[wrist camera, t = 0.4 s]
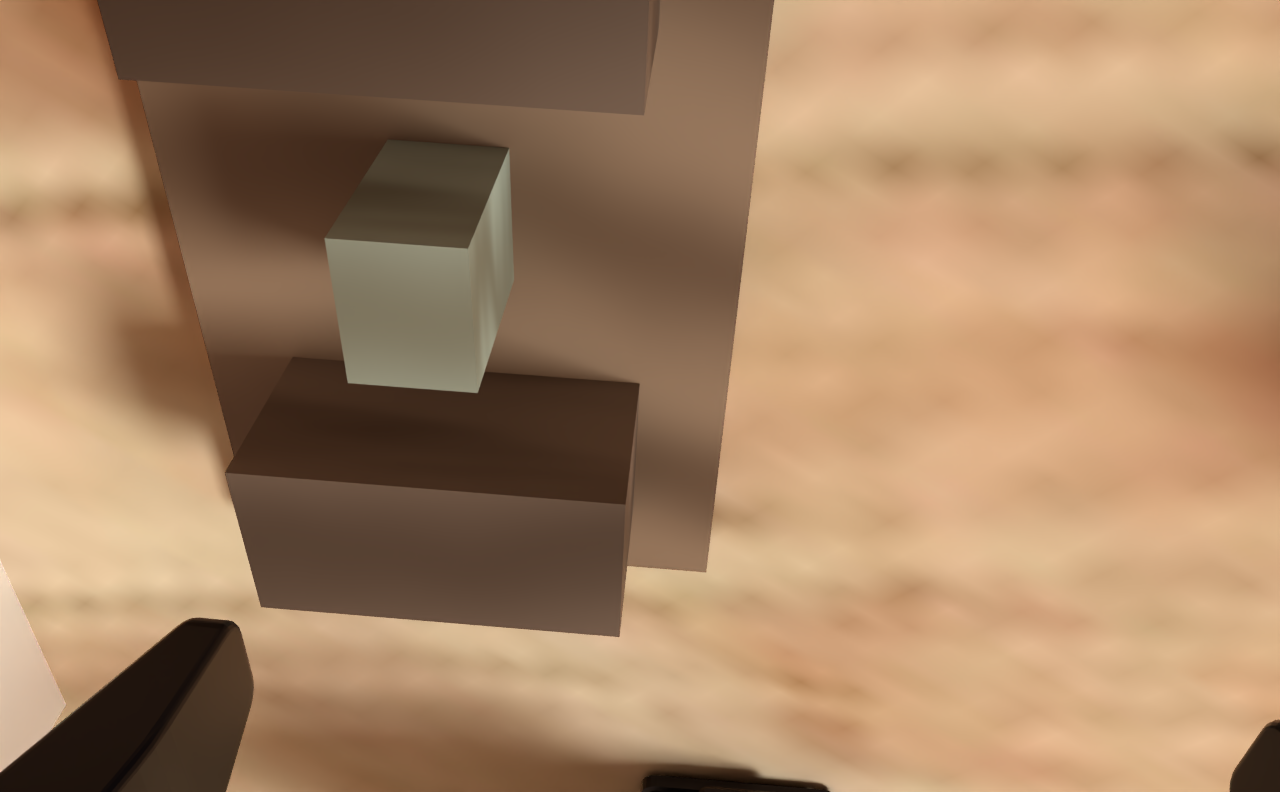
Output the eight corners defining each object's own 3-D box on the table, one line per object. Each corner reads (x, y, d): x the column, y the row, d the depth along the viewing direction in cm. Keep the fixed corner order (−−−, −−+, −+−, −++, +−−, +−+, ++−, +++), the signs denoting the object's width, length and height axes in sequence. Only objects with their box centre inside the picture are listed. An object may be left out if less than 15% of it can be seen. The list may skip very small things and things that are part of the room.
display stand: (706, 545, 28) (702, 700, 24) (268, 509, 28) (192, 656, 24) (815, -383, 16) (844, -379, 12) (41, -425, 16) (-184, -434, 12)
